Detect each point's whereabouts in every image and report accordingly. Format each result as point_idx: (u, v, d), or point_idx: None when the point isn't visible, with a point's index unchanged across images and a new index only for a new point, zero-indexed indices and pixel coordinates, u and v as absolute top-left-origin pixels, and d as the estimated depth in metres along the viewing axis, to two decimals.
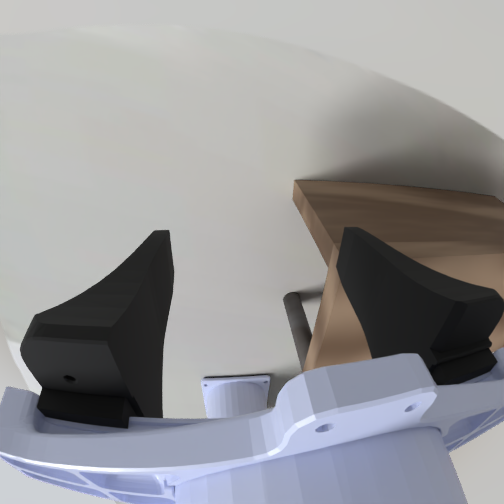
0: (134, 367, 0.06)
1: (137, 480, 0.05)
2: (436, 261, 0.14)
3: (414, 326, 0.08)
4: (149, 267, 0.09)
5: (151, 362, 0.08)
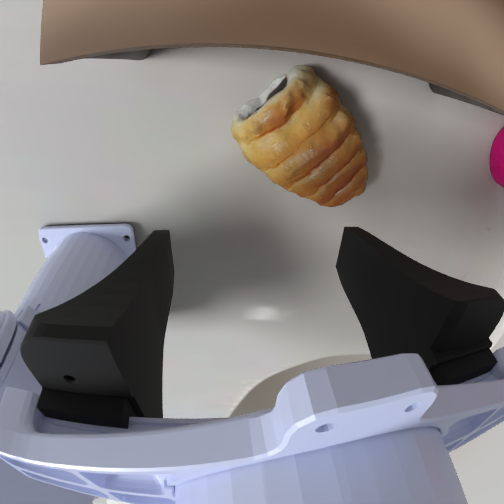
0: (134, 367, 0.06)
1: (136, 480, 0.05)
2: None
3: (414, 326, 0.08)
4: (150, 266, 0.09)
5: (151, 362, 0.08)
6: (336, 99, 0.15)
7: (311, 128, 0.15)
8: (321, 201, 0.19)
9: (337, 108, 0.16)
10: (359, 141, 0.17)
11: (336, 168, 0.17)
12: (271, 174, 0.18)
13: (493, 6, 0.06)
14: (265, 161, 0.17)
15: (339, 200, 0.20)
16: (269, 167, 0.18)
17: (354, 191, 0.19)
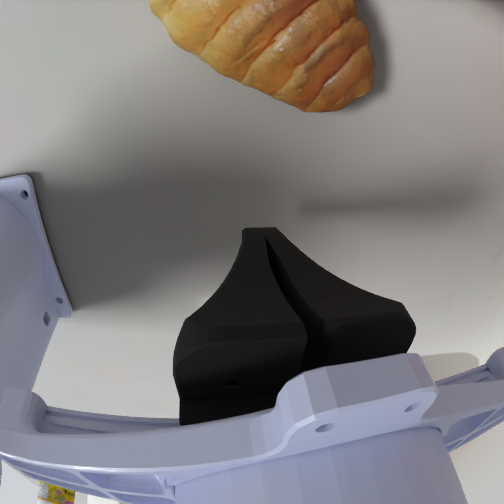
0: None
1: (137, 480, 0.05)
2: None
3: None
4: (268, 263, 0.09)
5: None
6: None
7: None
8: (302, 98, 0.11)
9: None
10: (352, 1, 0.08)
11: (319, 34, 0.09)
12: (212, 55, 0.09)
13: None
14: (197, 29, 0.08)
15: (332, 98, 0.11)
16: (206, 41, 0.09)
17: (356, 82, 0.10)
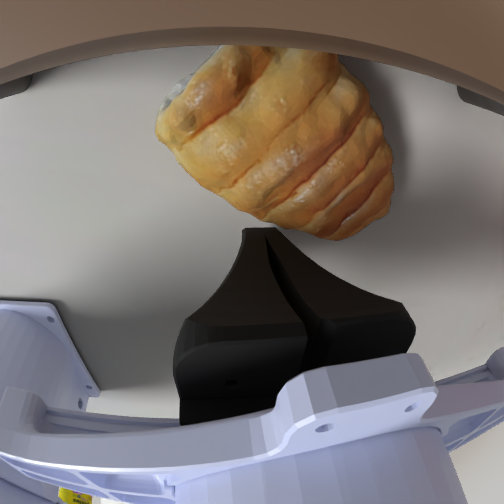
0: None
1: (136, 479, 0.05)
2: None
3: None
4: (268, 263, 0.09)
5: None
6: (334, 55, 0.08)
7: (289, 109, 0.08)
8: (319, 234, 0.12)
9: (337, 72, 0.08)
10: (380, 130, 0.09)
11: (342, 180, 0.10)
12: (229, 198, 0.11)
13: None
14: (212, 177, 0.10)
15: (348, 231, 0.12)
16: (222, 187, 0.10)
17: (373, 215, 0.11)
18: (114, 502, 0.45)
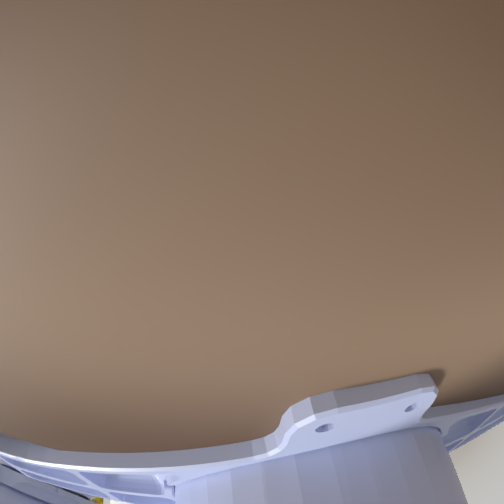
0: None
1: (137, 480, 0.05)
2: None
3: None
4: None
5: None
6: None
7: None
8: None
9: None
10: None
11: None
12: None
13: None
14: None
15: None
16: None
17: None
18: (123, 503, 0.49)
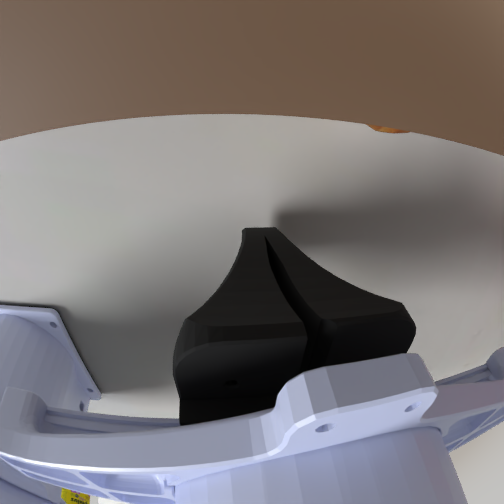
0: None
1: (136, 479, 0.05)
2: None
3: None
4: (268, 263, 0.09)
5: None
6: None
7: None
8: None
9: None
10: None
11: None
12: None
13: None
14: None
15: None
16: None
17: None
18: (112, 502, 0.45)
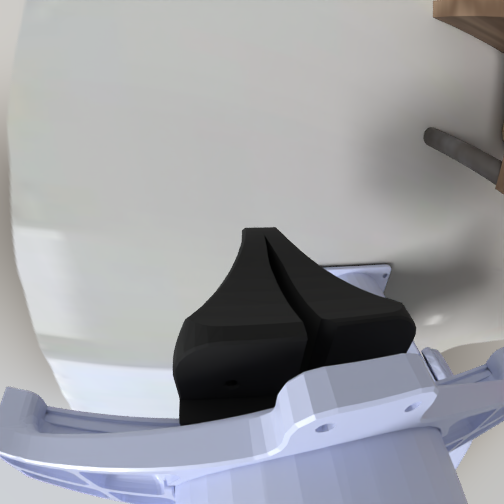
0: None
1: (136, 480, 0.05)
2: None
3: None
4: (268, 263, 0.09)
5: None
6: None
7: None
8: None
9: None
10: None
11: None
12: None
13: None
14: None
15: None
16: None
17: None
18: None
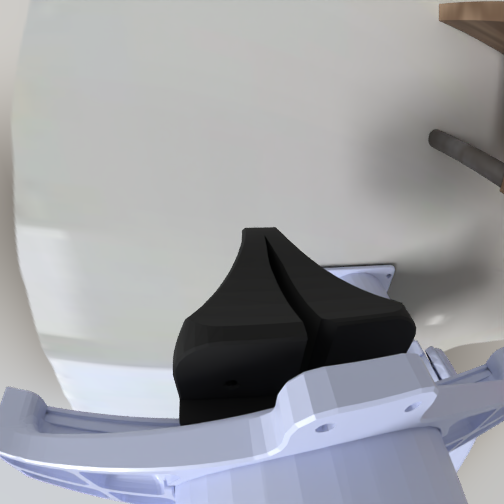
0: None
1: (137, 480, 0.05)
2: None
3: None
4: (268, 263, 0.09)
5: None
6: None
7: None
8: None
9: None
10: None
11: None
12: None
13: None
14: None
15: None
16: None
17: None
18: None
